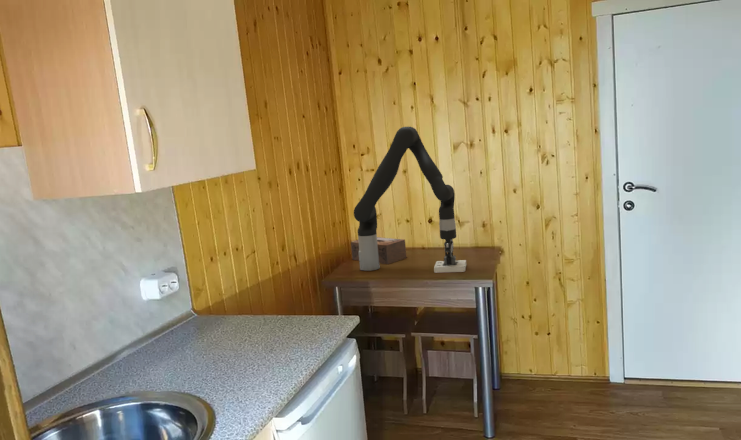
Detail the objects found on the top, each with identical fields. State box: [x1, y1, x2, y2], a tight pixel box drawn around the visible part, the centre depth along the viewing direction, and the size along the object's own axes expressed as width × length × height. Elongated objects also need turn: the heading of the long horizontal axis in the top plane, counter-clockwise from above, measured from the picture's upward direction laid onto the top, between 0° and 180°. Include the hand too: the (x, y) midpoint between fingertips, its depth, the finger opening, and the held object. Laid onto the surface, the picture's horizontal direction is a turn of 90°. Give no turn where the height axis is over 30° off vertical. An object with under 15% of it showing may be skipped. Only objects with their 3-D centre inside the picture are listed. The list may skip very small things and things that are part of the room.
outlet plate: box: [433, 259, 467, 274], centre depth 273 cm, size 14×12×3 cm
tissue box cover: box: [350, 236, 407, 265], centre depth 307 cm, size 26×14×10 cm, turn 46°
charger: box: [443, 254, 457, 266], centre depth 273 cm, size 5×4×6 cm
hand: (450, 262), depth 272 cm, fingers open, 8 cm apart
